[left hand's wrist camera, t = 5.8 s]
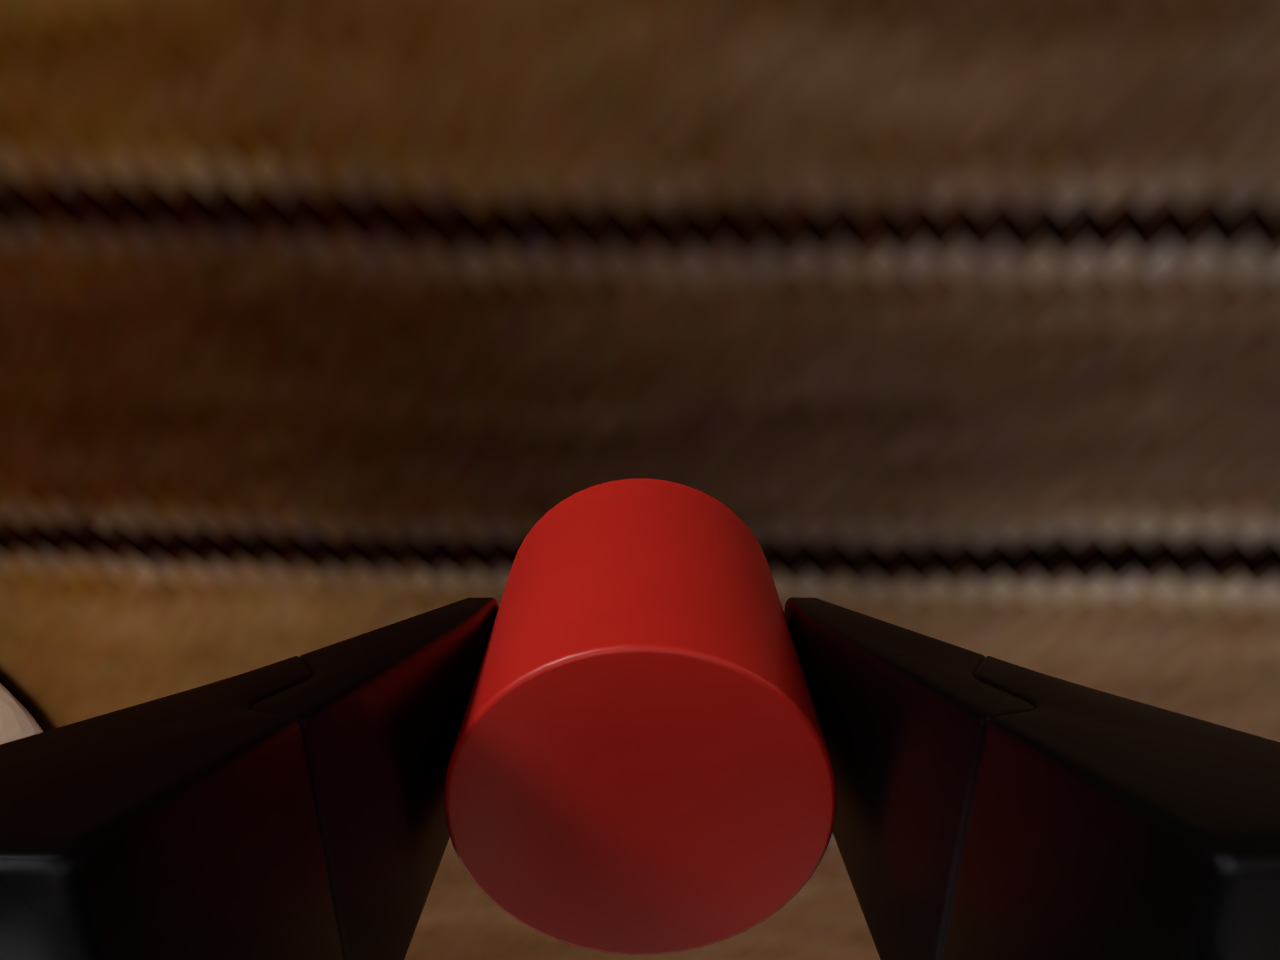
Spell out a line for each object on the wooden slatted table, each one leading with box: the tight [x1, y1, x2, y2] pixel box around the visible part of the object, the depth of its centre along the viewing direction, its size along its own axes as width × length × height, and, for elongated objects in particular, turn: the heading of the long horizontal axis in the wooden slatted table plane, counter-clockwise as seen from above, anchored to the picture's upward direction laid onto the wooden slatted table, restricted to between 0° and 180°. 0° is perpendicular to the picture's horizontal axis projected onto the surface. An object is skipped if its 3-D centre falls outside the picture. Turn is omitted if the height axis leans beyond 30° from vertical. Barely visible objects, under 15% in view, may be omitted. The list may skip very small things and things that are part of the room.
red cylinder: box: [444, 478, 837, 955], centre depth 10 cm, size 4×4×4 cm
